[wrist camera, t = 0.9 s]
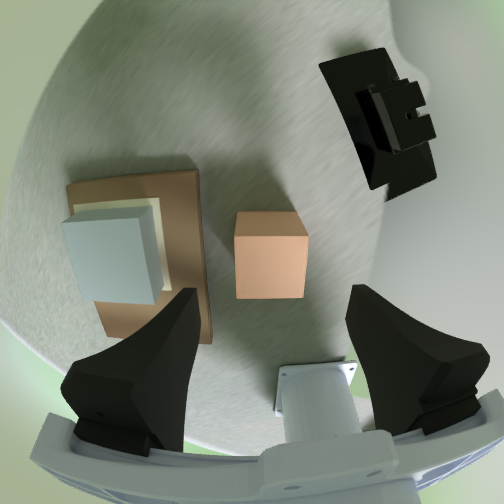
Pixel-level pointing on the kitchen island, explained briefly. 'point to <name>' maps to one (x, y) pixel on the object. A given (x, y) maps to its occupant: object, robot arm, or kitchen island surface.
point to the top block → (270, 255)
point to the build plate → (383, 120)
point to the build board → (168, 240)
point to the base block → (115, 254)
